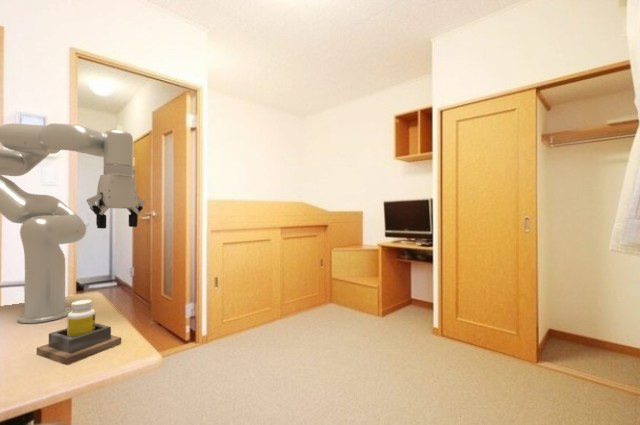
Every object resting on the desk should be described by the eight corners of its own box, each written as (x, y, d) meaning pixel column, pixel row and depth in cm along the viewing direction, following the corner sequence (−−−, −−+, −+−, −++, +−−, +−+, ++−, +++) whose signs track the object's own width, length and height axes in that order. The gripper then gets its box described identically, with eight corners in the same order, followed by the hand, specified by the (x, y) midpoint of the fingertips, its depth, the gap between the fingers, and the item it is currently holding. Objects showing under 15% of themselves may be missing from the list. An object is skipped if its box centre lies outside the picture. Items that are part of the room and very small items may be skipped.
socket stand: (36, 354, 73) (36, 335, 73) (91, 335, 84) (91, 318, 84) (67, 365, 68) (67, 344, 68) (121, 343, 79) (121, 325, 79)
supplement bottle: (97, 341, 76) (97, 301, 76) (69, 349, 72) (69, 306, 72) (91, 335, 80) (92, 297, 80) (64, 342, 76) (65, 302, 76)
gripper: (136, 175, 105) (135, 225, 105) (79, 168, 89) (79, 228, 89) (152, 174, 102) (151, 226, 102) (96, 167, 86) (96, 229, 86)
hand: (118, 227), depth 96 cm, fingers open, 9 cm apart
